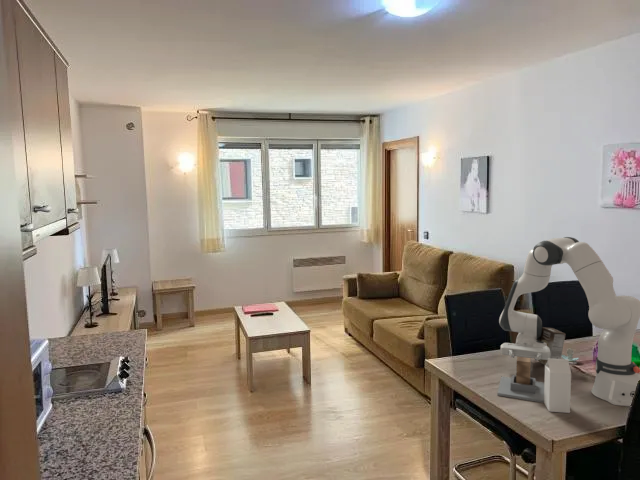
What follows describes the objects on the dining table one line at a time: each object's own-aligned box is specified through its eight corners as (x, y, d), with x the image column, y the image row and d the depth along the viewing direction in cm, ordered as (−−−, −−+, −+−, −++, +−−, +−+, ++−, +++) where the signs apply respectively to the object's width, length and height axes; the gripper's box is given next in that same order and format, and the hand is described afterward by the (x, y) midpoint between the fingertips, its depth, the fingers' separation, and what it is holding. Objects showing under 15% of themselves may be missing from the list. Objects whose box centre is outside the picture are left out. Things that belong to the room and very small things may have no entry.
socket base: (547, 385, 194) (547, 375, 194) (547, 403, 178) (547, 393, 178) (501, 378, 202) (501, 369, 202) (497, 395, 186) (497, 385, 186)
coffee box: (534, 359, 220) (540, 326, 219) (546, 360, 221) (552, 327, 220) (548, 367, 211) (554, 332, 210) (560, 367, 212) (566, 333, 211)
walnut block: (530, 386, 191) (530, 358, 190) (529, 391, 187) (530, 362, 186) (516, 384, 193) (517, 356, 192) (516, 389, 189) (516, 360, 188)
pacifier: (576, 366, 215) (579, 361, 219) (576, 353, 214) (579, 349, 218) (559, 362, 219) (562, 358, 224) (559, 349, 219) (562, 345, 223)
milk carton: (570, 413, 170) (571, 363, 168) (549, 411, 172) (550, 362, 169) (564, 404, 177) (565, 356, 175) (543, 403, 178) (545, 355, 176)
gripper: (501, 337, 216) (498, 347, 204) (550, 343, 208) (550, 353, 195) (501, 350, 217) (498, 361, 205) (550, 356, 208) (550, 367, 196)
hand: (524, 357), depth 200 cm, fingers open, 8 cm apart
